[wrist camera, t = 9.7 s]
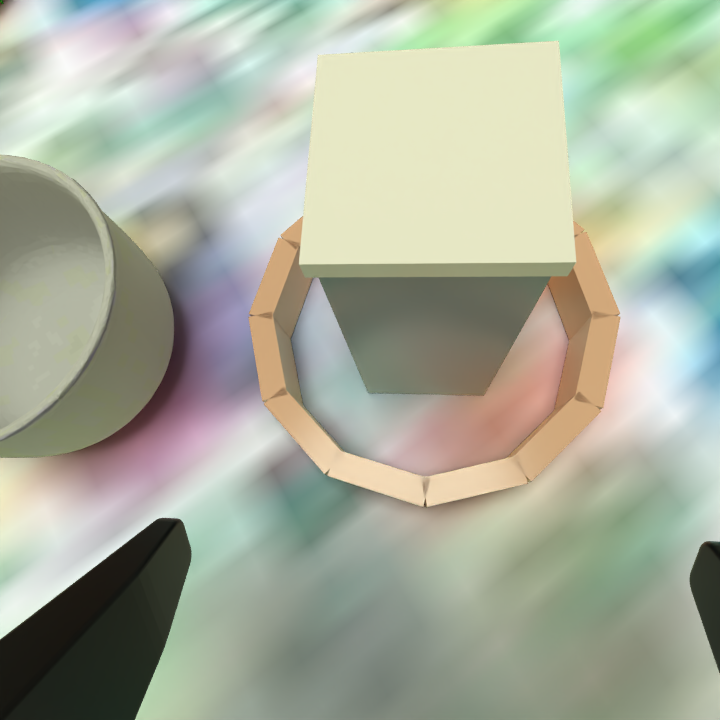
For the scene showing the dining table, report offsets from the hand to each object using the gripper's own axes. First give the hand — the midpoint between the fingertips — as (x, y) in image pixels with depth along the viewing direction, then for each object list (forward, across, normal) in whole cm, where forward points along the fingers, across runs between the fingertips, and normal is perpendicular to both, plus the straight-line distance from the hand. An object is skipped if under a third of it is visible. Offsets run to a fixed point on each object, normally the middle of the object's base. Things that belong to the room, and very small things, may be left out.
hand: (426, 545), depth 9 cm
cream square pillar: (+14, 0, +3) cm, 14 cm away
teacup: (+13, +17, +4) cm, 22 cm away
